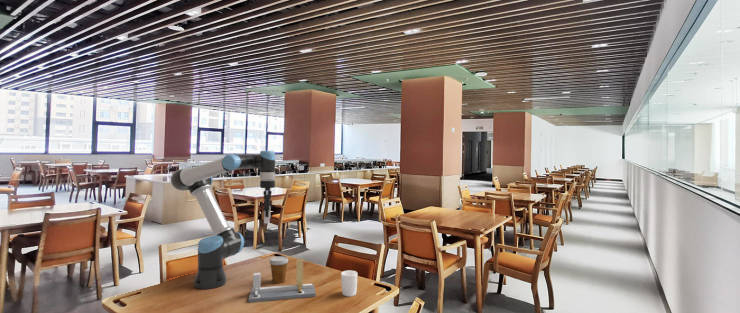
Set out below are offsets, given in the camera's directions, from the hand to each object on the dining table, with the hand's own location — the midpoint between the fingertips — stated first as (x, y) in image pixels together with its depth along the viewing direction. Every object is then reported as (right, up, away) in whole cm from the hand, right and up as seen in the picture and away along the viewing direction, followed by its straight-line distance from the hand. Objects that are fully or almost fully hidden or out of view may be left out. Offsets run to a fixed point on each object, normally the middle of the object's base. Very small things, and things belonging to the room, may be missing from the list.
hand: (267, 220), depth 188 cm
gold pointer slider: (+20, -30, -15) cm, 39 cm away
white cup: (+44, -33, -16) cm, 57 cm away
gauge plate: (+12, -32, -17) cm, 38 cm away
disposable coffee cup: (+6, -32, 0) cm, 33 cm away
